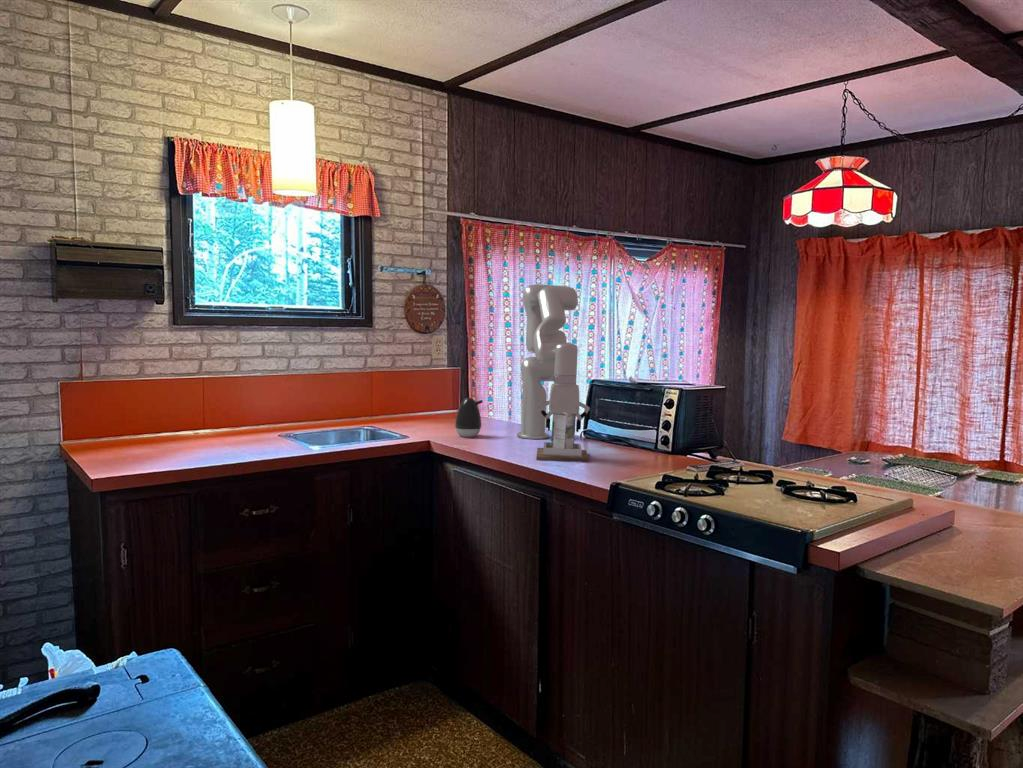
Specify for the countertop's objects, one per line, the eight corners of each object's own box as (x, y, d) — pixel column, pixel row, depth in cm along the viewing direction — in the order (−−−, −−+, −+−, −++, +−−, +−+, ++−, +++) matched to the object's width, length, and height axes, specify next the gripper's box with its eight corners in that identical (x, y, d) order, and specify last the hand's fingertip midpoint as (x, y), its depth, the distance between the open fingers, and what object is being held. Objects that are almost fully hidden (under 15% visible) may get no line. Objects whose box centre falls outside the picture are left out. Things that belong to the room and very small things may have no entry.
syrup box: (560, 450, 255) (561, 409, 254) (574, 453, 251) (576, 410, 250) (550, 452, 251) (552, 410, 250) (564, 455, 247) (566, 411, 246)
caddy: (537, 451, 260) (537, 440, 260) (586, 453, 259) (586, 442, 259) (536, 459, 243) (536, 448, 243) (588, 462, 242) (588, 451, 242)
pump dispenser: (480, 439, 283) (482, 399, 281) (453, 437, 283) (454, 398, 281) (482, 435, 293) (483, 396, 291) (456, 434, 293) (457, 395, 292)
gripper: (539, 380, 246) (537, 431, 247) (591, 382, 245) (589, 433, 246) (539, 378, 253) (537, 428, 254) (590, 380, 252) (588, 430, 254)
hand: (563, 430), depth 250 cm, fingers open, 9 cm apart
